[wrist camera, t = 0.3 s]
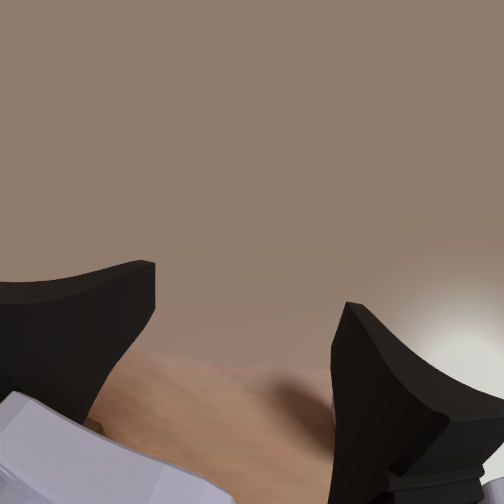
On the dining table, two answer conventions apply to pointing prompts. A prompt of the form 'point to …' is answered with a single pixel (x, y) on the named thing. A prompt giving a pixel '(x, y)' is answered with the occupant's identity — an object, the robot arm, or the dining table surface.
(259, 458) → the dining table surface
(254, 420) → the dining table surface
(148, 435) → the dining table surface
